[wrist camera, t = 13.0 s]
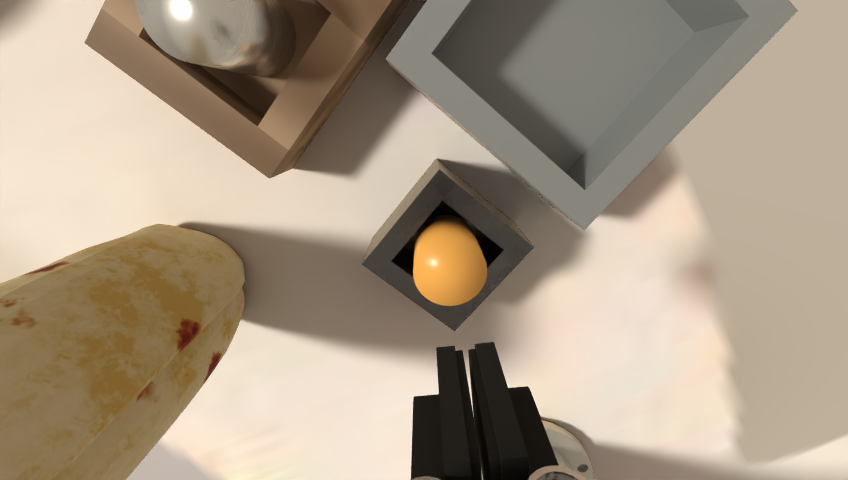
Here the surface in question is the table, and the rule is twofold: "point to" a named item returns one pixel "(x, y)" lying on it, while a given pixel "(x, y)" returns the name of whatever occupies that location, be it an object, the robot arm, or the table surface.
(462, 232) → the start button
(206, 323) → the food model
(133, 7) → the brown compartment tray
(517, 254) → the button housing
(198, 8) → the cylinder
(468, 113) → the tray
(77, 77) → the table surface
